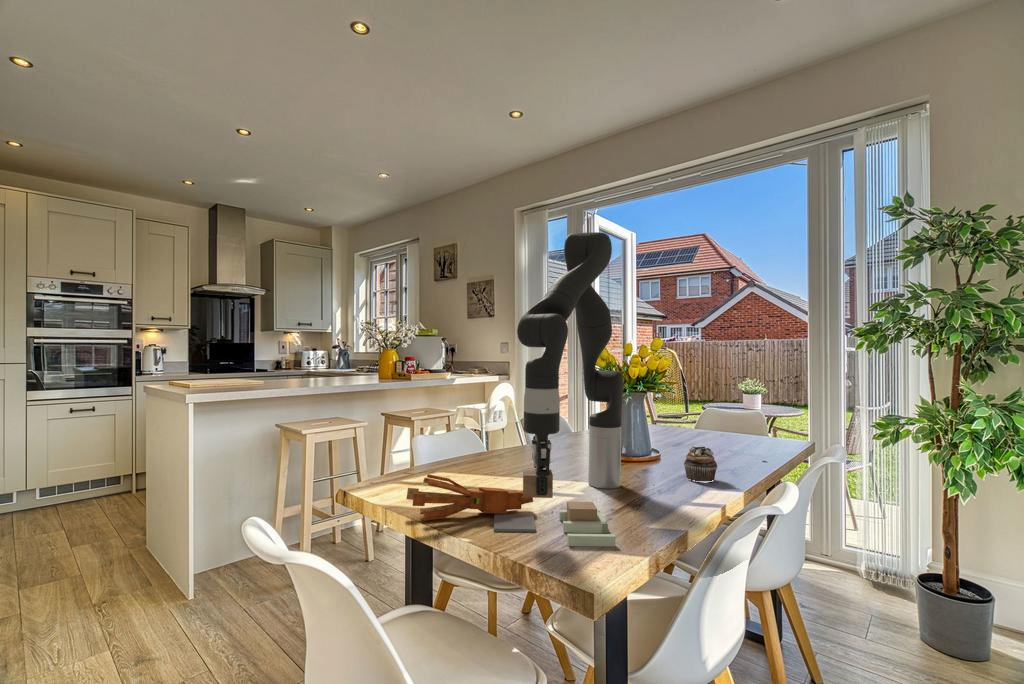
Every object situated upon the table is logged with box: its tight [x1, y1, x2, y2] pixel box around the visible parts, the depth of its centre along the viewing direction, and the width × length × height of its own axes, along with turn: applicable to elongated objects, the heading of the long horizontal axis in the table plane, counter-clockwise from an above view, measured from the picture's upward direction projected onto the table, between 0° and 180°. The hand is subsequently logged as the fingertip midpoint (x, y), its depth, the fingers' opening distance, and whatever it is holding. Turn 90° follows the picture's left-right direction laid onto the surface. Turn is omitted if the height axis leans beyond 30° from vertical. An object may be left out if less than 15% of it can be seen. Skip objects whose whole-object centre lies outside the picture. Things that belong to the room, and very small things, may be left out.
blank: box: [522, 468, 554, 499], centre depth 103 cm, size 5×6×4 cm
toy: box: [406, 473, 534, 521], centre depth 116 cm, size 10×11×30 cm
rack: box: [558, 501, 616, 547], centre depth 106 cm, size 16×10×4 cm, turn 1°
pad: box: [493, 513, 537, 533], centre depth 110 cm, size 9×9×1 cm
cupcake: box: [683, 446, 718, 481], centre depth 151 cm, size 10×10×10 cm
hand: (540, 490), depth 103 cm, fingers closed on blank, 5 cm apart
